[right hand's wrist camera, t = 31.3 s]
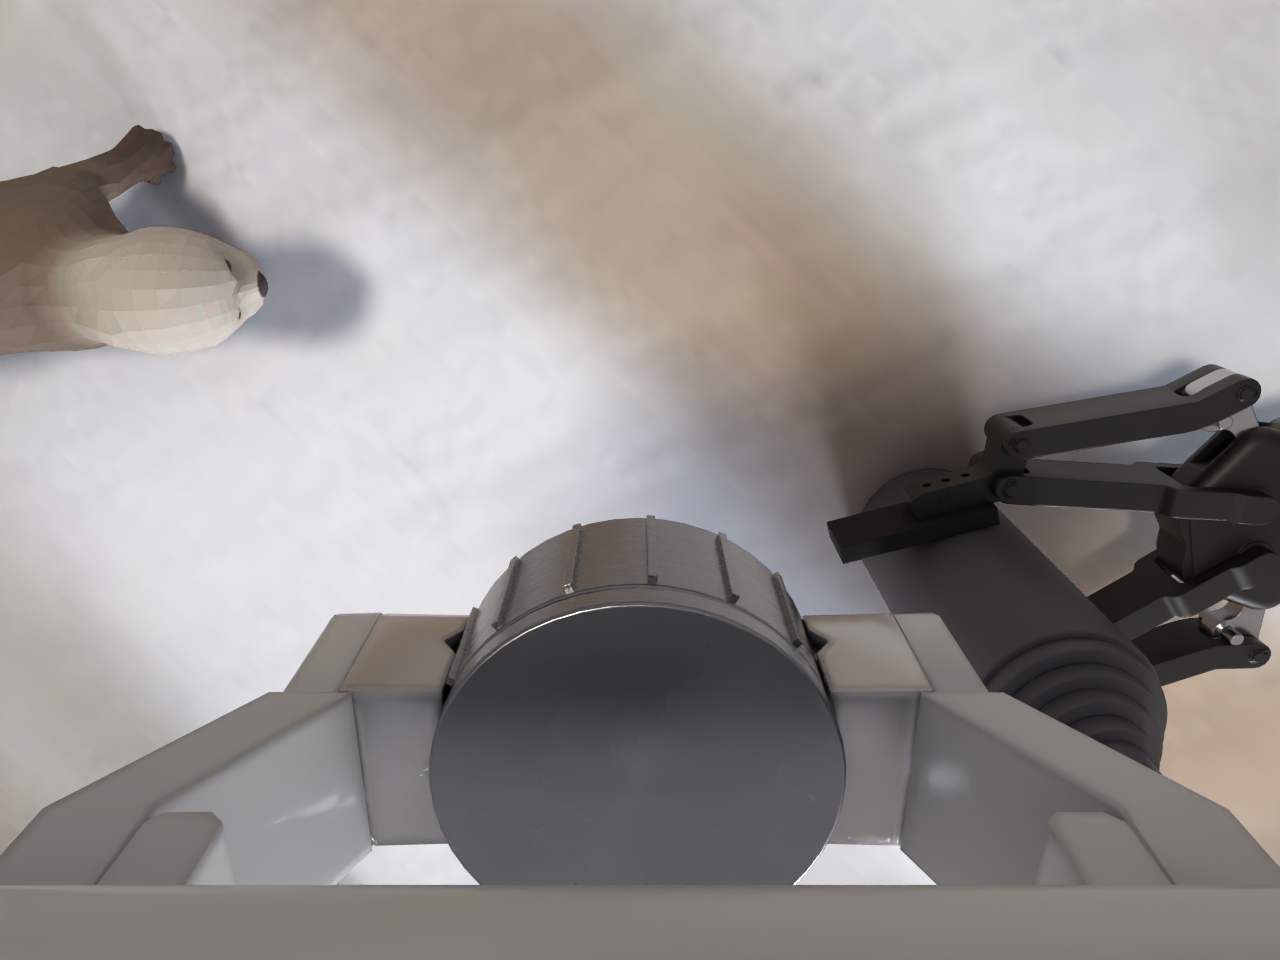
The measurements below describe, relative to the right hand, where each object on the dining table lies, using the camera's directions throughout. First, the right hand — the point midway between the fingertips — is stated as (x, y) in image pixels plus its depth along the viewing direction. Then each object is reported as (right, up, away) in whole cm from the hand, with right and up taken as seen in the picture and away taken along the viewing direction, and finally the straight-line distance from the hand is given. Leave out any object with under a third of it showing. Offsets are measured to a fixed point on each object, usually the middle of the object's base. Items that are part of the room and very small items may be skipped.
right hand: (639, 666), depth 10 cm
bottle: (+14, 0, +34) cm, 37 cm away
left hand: (+9, -4, +29) cm, 31 cm away
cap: (0, -1, -2) cm, 2 cm away
